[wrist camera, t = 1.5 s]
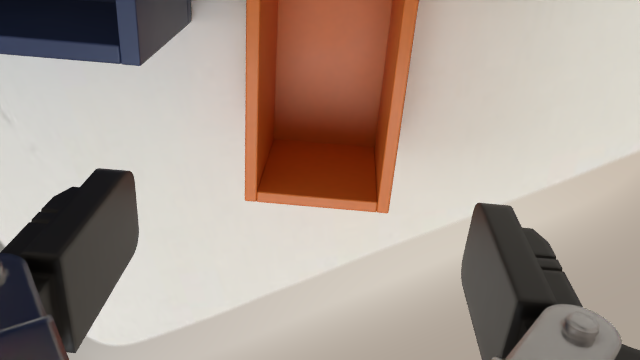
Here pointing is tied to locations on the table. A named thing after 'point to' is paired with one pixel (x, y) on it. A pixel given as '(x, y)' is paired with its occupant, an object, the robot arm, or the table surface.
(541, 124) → the table surface
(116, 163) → the table surface
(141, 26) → the tote
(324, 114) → the small bin
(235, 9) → the table surface
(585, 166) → the table surface
